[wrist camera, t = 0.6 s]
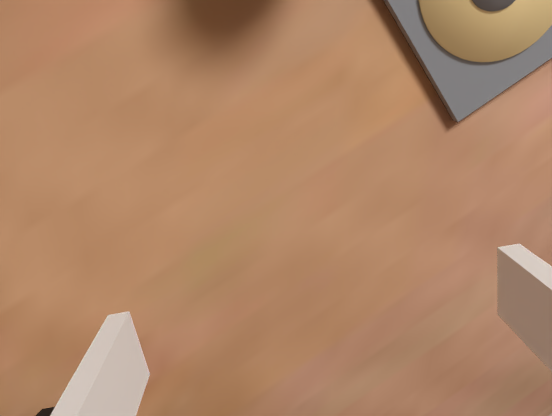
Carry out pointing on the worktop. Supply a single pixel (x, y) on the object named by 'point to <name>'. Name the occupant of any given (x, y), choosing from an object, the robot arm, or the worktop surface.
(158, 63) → the worktop surface
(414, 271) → the worktop surface
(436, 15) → the socket board
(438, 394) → the worktop surface
